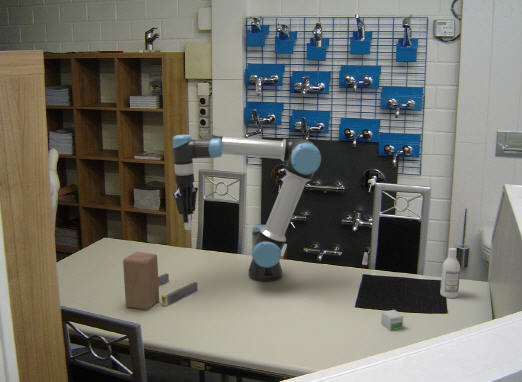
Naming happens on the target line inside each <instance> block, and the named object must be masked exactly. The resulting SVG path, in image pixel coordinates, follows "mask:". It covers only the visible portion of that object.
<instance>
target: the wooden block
mask: <svg viewBox="0 0 522 382" xmlns="http://www.w3.org/2000/svg"><path fill="white" fill-rule="evenodd" d="M122 264H123V265H122V266H123V282H124V298H125V307H127V308H133V309H139V310H146V311H148V310H149V309H151V308H152V307H153V306H155V304H156V303H158V302H159V300H160V288H159V287H160V286H159V284H158V277H159V270H158V269H159V267H158V266H159V265H158V254H156V253H150V252H140V251H135V252H133V253H132V254H130V255H128V256H126V257H124V258H123V260H122Z"/></svg>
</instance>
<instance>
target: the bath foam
mask: <svg viewBox="0 0 522 382" xmlns="http://www.w3.org/2000/svg"><path fill="white" fill-rule="evenodd" d="M447 255H448V257H447V258H446V259H445V260H444V261H443V262H442V266H441V279H440V289H439V290H440V291H439V292H440V295H441V296H442V297H444V298H448V299H455V298H457V297H459V290H460V289H459V288H460V278H461V277H460V276H461V265H460V261H458V259H457V248H456V247H449V248H448V254H447Z"/></svg>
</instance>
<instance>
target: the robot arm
mask: <svg viewBox="0 0 522 382" xmlns="http://www.w3.org/2000/svg"><path fill="white" fill-rule="evenodd" d="M172 153H173V163H174V165H173V166H174V173H175V175H174V178H175V179H174V180H175V184H176V185H177V187H176V191H175V192H173V193H172V196H173V198H174V199H175V204H176V208H177V211H178V214H179V215H182V220H183V224H184V230H185V231H191V230H193V224H192V221H193V215H194V214H195V211H196V206H197V205H196V204H197V193H198V191H199V188H198V187H195V186H194V183H195V173H194V171H195V170H194V159H215V158H221V157H222V156H223V155H232V156H241V157H242V156H243V157H253V158H267V159H275V160H276V159H277V160H278V159H279V160H281V161H282V162H286V164H285V167H284V171H285V173H286V174H285V176H284V180H283V183H282V184H281V186H280V189H279V192H278V194H277V197H276V199H275V202H274V204H273V206H272V208H271V209H272V210H271V212H270V214H269V217H268V219H267V221H266V224H259V225H258V224H257V225H254V226H253V227H252V229H251V230H252V231H251V233H252V238H251V239H252V247H251V248H252V250H251V251H252V252H251V256H252V259H251V262H250V265H249V269H248V277H249V278H250V279H252V280H254V281H257V282H273V281H276V280H277V281H278V280H279V279H281V278H282V277H283V268H282V265H281V263H280V261H281V257H282V250H283V249H284V246H285V243H286V242H287V241H286V240H287V238H286V236H285V235H286V231H287V229H288V227H289V224H290V222H291V220H292V217H293V215H294V212H295V210H296V208H297V206H298V205H297V204H298V203H299V200H300V198H301V196H302V194H303V191H304V188H305V186H306V184H307V182H310V181H312V179H313V177H314V174H315V172H316V171H317V170H318V169H319V167H320V165H321V161H322V154H321V152H320V150H319V149H318V147H317V146H316V145H315V144H314V143H313V142H312V141H311V140H308V139H297V138H295V139H292V138H291V139H288V138H284V139H282V140H273V139H262V138H251V137H250V138H248V137H235V136H224V135H223V136H222V135H216V134H213V133H209V134H206V135H205V136H203V137H202V139H192V135H190V134H177V135H174V136H173V137H172Z"/></svg>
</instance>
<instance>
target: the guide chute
mask: <svg viewBox="0 0 522 382" xmlns="http://www.w3.org/2000/svg"><path fill="white" fill-rule="evenodd" d="M168 282H169V283H170V278H169V273H163V274H161V275H158V284H159V287H160V286H162V285H165V284H167V283H168ZM197 291H198V282H196V281H193V282H191V283H189V284H187V285H185V286H183V287H181V288H179V289H177V290H174V291H172V292H169V293H168V294H163V295H161V304H162V306H163V307H165V308H166V307H168V306H169V305H171V304H173V303H175V302H177V301H179V300H181V299H183V298H185V297H187V296H189V295H191V294H193V293H196V292H197Z"/></svg>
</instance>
